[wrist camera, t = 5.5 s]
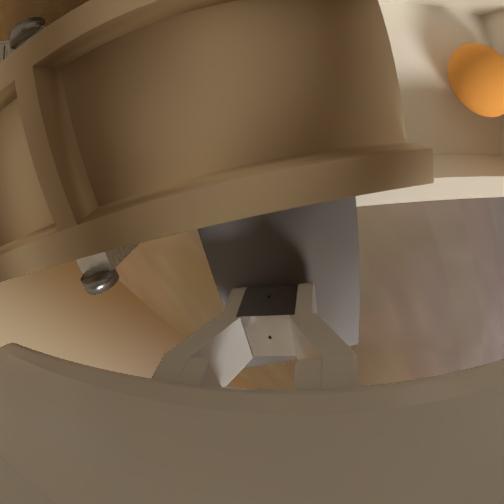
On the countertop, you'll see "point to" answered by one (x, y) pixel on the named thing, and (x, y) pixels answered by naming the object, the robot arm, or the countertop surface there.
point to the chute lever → (206, 139)
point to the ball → (478, 78)
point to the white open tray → (444, 97)
